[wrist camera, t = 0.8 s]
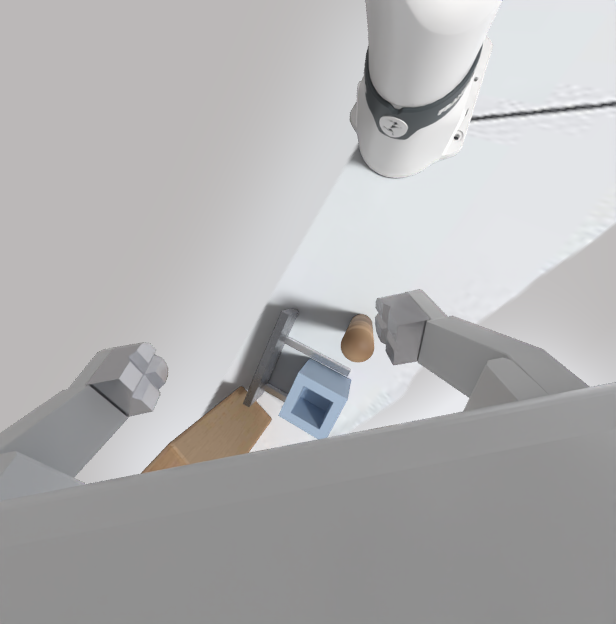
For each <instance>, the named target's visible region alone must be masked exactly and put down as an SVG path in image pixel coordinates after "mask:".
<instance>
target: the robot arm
mask: <svg viewBox="0 0 616 624" xmlns="http://www.w3.org/2000/svg"><path fill="white" fill-rule="evenodd" d="M502 1H503V0H365V2H366V12H367V23H368V41H369V46H368V50H367V53H366V60H365V69H364V77H363V79H362V81H360V82H359V83H358V88H357V102H356V104H355V105H354V107H353V109H352V110H351V113H350V122H351V124H352V126H353V128H354V130H355V131H356V133H357V135H358V142H359V148H360V152H361V155H362V157H363V159H364V161H365V162H366V164H367V165H368V166H369V167H370V168H371V169H372V170H374V171H375V172H377V173H378V174H380V175H383V176H386V177H392V178H402V177H408V176H411V175H414V174H417V173H419V172H421V171H423V170H424V169H426V168H427V167H429V166H430V165H432V164H433V163H435V162H436V161H438V160H442V159H446V158H449V157H452V156H455V155H456V154H458V153H459V152H460V150H461V148H462V146H463V143H464V139H465V136H466V133H467V130H468V126H469V123H470V120H471V117H472V113H473V110H474V107H475V104H476V100H477V97H478V94H479V91H480V87H481V84H482V81H483V78H484V74H485V71H486V68H487V65H488V62H489V58H490V55H491V52H492V47H493V44H492V42H491V40H490V39H489V38H488V36H487V33H488V31H489V29H490V27H491V25H492V23H493V20H494V18H495V16H496V14H497V12H498V10H499V8H500V5H501V3H502ZM454 137H458V140H454ZM376 309H377V311H378V314H377V316H376V317H375V326H376V332H377V334H378V337H379V339H380V341H381V342H382V343H384V344H386V353H387V355H388V357H389V358H390V360H391V362H392V364H393V365H398V364H404V363H410V362H416V361H418V363H419V364H421V365H422V366H424V367H425V368H427V369H428V370H430V371H431V372H432V373H434V374H436V375H437V376H438V377H440V378H441V379H443V380H444V381H446V382H447V383H449V384H450V385H451V386H453V387H454V388H456V389H457V390H459V391H460V392H462V393H463V394H464V395H466V396H467V397H469V400H468V402H467V404H466V407H465V409H464V411H463V412H458V413H453V414H448V415H443V416H438V417H432V418H427V419H422V420H417V421H412V422H406V423H401V424H396V425H391V426H386V427H381V428H375V429H370V430H365V431H360V432H355V433H349V434H344V435H339V436H334V437H328V438H323V439H318V440H313V441H308V442H302V443H297V444H292V445H287V446H282V447H276V448H271V449H266V450H261V451H256V452H251V453H245V454H240V455H235V456H230V457H225V458H220V459H214V460H209V461H204V462H199V463H194V464H189V465H183V466H178V467H173V468H168V469H163V470H158V471H152V472H147V473H142V474H137V475H132V476H126V477H121V478H116V479H111V480H106V481H101V482H95V483H90V484H85V483H84V482H82V481H80V480H77V479H75V478H74V477H75V476H76V475H77V474H78V473H79V471H80V470H82V468H83V467H84V466H85V465H86V464H87V463H88V462H89V461H90V460H91V459H92V457H93V456H94V455H95V454H96V453H97V452H98V451H99V450H100V449H101V447H102V446H103V445H104V444H105V443H106V442H107V441H108V440H109V439H110V438H111V437H112V435H113V434H114V433H115V432H116V431H117V430H118V429H119V428H120V427H121V425H122V424H123V423H124V422H125V421H126V420H127V419H128V417H129V416H134V415H138V414H143V413H147V412H152V411H153V410H154V408H155V405H156V403H157V401H158V399H159V396H160V392H159V388H160V387H161V386H162V385H164V384H165V382H166V380H167V377H168V367H167V364H166V362H165V361H164V359H163V358H162V357H159V356H157V355H155V351H156V349H155V348H154V347H153V346H152V345H151V343H146V342H143V343H138V344H132V345H126V346H120V347H114V348H109V349H104V350H101V351H99V352H97V354H96V355H95V356H94V357H93V358H92V360H91V361H90V362H89V363H88V365H87V366H86V367H85V368H84V370H83V371H82V372H81V373H80V374H79V376H78V377H77V378H76V379H75V381H74V382H73V383H72V384H71V386H70V387H69V388H68V389H66V390H62V391H61V392H59V393H58V394H56V395H55V396H54V397H52V398H51V399H49V400H48V401H46V402H45V403H43V404H42V405H40V406H39V407H37V408H36V409H35V410H33V411H32V412H30V413H29V414H27V415H26V416H24V417H23V418H21V419H20V420H18V421H17V422H16V423H14V424H13V425H11V426H10V427H8V428H7V429H5V430H4V431H2V432H1V433H0V624H616V382H614V383H608V384H603V385H598V386H594V387H589V386H588V385H587V384H586V383H584V382H583V381H582V380H581V379H579V378H578V377H577V376H576V375H575V374H573V373H572V372H571V371H570V370H568V369H567V368H566V367H565V366H563V365H562V364H561V363H560V362H558V361H557V360H556V359H555V358H553V357H552V356H551V355H550V354H548V353H547V352H546V351H545V350H543V349H541V348H539V347H536V346H533V345H531V344H528V343H525V342H522V341H519V340H517V339H514V338H511V337H509V336H506V335H503V334H501V333H498V332H495V331H492V330H490V329H487V328H484V327H482V326H479V325H476V324H473V323H471V322H468V321H465V320H463V319H460V318H457V317H454V316H449V317H448V316H447V315H446V314H445V313H444V312H443V311H442V310H441V309H440V308H439V307H438V306H437V305H436V304H435V303H434V302H433V301H432V300H431V299H430V298H429V297H428V295H427V294H426V293H425V292H424V291H423V290H420V289H418V290H413V291H409V292H405V293H401V294H396V295H391V296H386V297H381V298H377V300H376Z"/></svg>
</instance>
